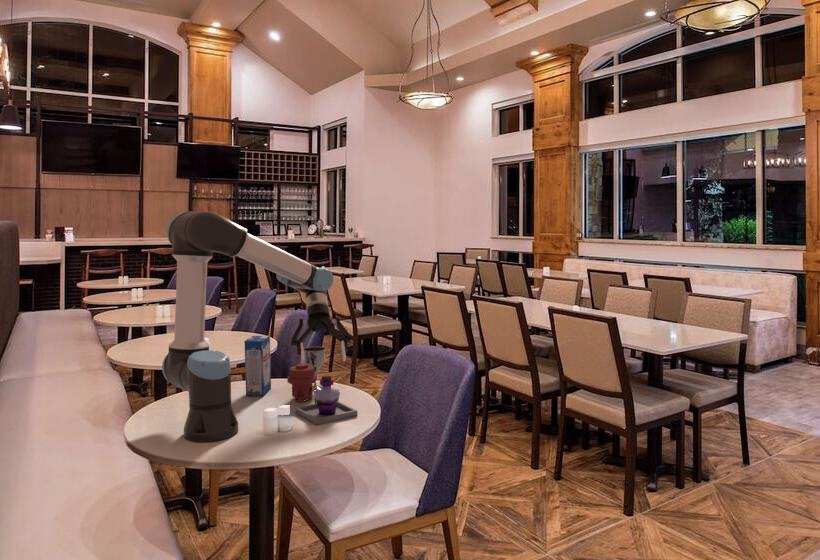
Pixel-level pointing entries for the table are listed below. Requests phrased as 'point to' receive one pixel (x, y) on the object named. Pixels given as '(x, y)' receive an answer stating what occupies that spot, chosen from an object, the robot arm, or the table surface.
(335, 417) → the charcoal tray
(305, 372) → the mechanical component
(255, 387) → the milk carton
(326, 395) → the potion bottle
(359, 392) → the table surface
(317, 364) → the wine glass
